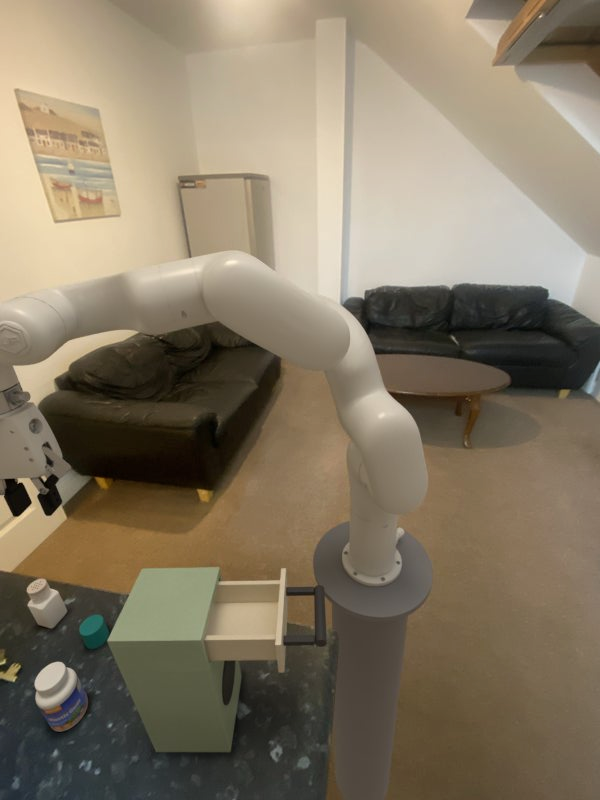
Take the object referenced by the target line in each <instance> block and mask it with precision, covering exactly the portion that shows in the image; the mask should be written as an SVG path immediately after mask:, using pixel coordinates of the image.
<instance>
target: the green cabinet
mask: <svg viewBox="0 0 600 800" xmlns="http://www.w3.org/2000/svg"><path fill="white" fill-rule="evenodd" d="M221 571H222V570H221V568H220V566H202V567H199V566H198V567H151V568H150V567H147V568H146V567H145V568H141V569H140V572H139V573H138V576H137V578H136V580H135V582H134V584H133V585H132V588H131V590H130V593H129V595H128V596H127V599H126V601H125V603H124V605H123V607H122V609H121V611H120V612H119V615H118V617H117V619H116V621H115V624H114V626H113V627H112V630H111V632H110V633H109V636H108V638H107V640H106V643H107V644H108V647H109V649H110V651H111V654H112V655H113V658H114V660H115V663H116V666H117V667H118V669H119V672H120V674H121V676H122V679H123V681H124V683H125V686H126V688H127V690H128V692H129V695H130V697H131V699H132V701H133V703H134V706H135V708H136V711H137V713H138V714H139V717H140V719H141V721H142V724H143V726H144V728H145V731H146V733H147V735H148V737H149V740H150V742H151V744H152V746H153V748H154V751H155V753H231V752H232V745H233V738H234V731H235V724H236V719H237V713H238V704H239V703H238V702H239V698H240V690H241V683H242V671H241V665H240V660H224V661H209V660H208V656H207V652H206V648H205V644H204V641H203V640H204V637H205V633H206V629H207V625H208V621H209V617H210V613H211V609H212V605H213V601H214V597H215V593H216V589H217V585H218V581H223V576H222V572H221Z"/></svg>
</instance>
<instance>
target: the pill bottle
mask: <svg viewBox="0 0 600 800" xmlns="http://www.w3.org/2000/svg"><path fill="white" fill-rule="evenodd" d="M34 688H35V690H36V692H35V695H34V697H35V699H34V700H35V703H36V705H37V707H38V708H39V711H40V712H41V713H42V715H43V717H44V718H45V720H46V722H47V723H48V725H49V727H50V728H51V729H52V730H53V731H54V732H65V731H66V732H67V731H68V730H70V729H72V728H73V727H74V726H76V725H77V724H78V723H79V722H81V720H82V718H83V717H84V715H85V714H86V711H87V709H88V705H89V698H88V695H87V692H86V690H85V689H84V686H83V683H81V680H80V679H79V676H78V674H77V673H76V671H75V670H74V669H73V668H72V667H67V666H66V664H65V663H64V662H62V661H54V662H51V663H49V664H48V665H45V667H43V668H42V669H41V670H40V672H39V673H38V674H37V676H36V677H35V680H34Z"/></svg>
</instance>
